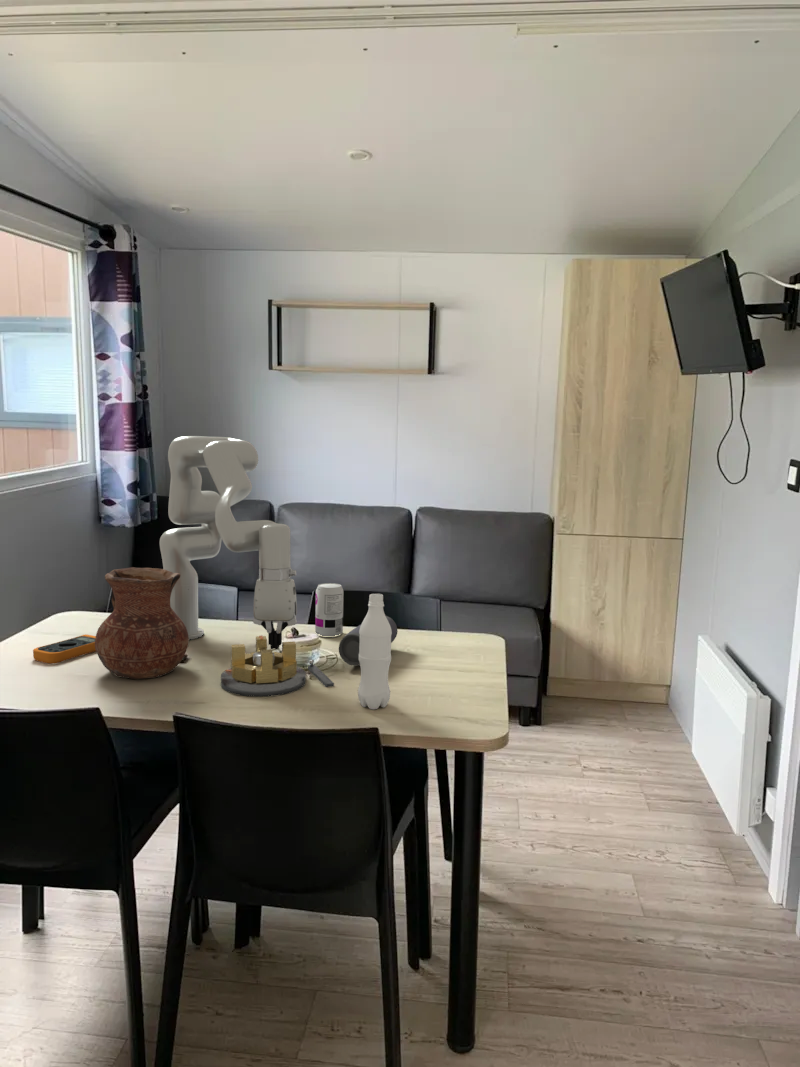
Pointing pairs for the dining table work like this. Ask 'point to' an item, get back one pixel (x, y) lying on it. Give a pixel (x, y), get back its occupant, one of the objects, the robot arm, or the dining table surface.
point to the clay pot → (141, 625)
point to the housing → (262, 688)
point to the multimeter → (65, 649)
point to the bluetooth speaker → (351, 644)
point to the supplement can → (329, 609)
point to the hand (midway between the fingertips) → (275, 647)
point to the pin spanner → (319, 675)
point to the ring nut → (263, 663)
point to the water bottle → (374, 655)
